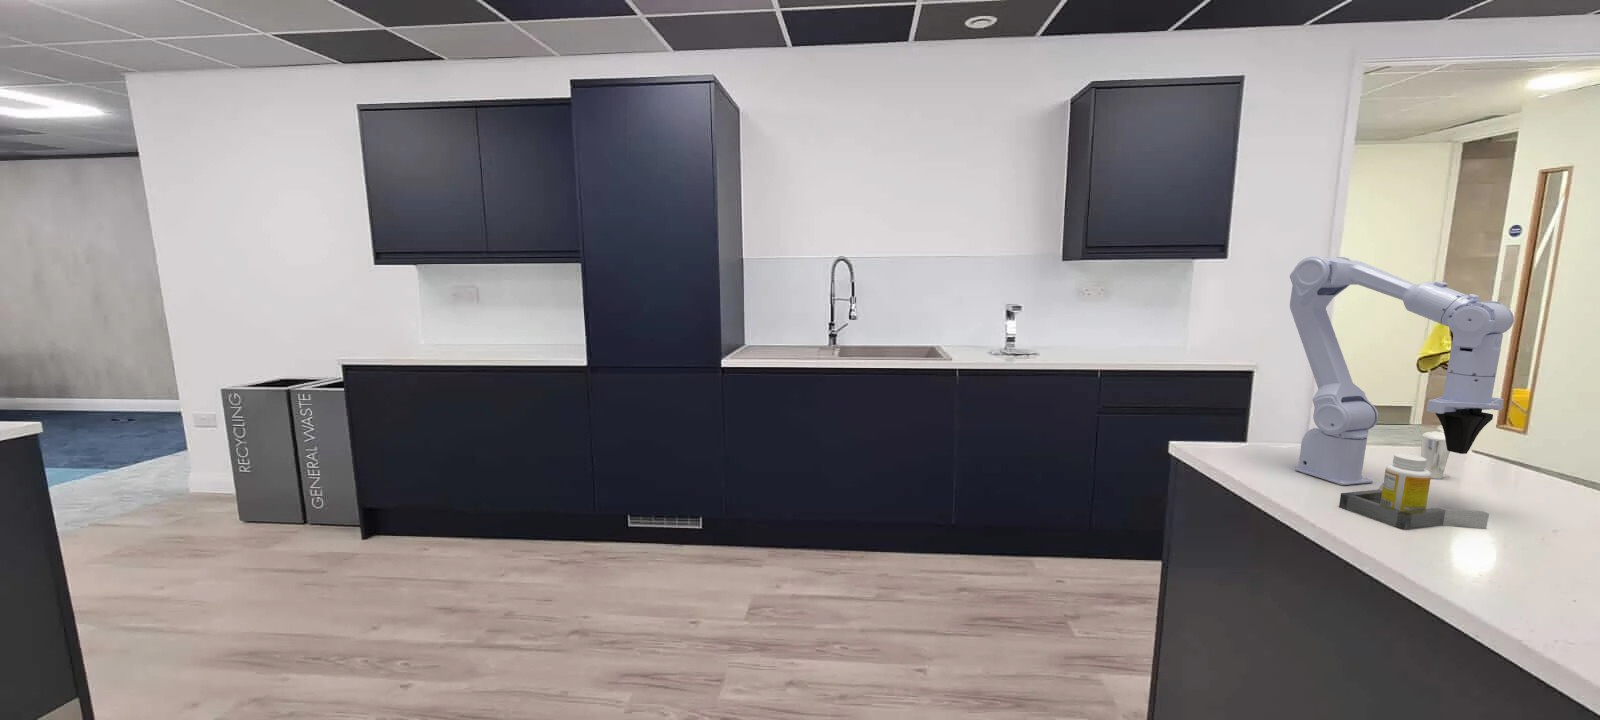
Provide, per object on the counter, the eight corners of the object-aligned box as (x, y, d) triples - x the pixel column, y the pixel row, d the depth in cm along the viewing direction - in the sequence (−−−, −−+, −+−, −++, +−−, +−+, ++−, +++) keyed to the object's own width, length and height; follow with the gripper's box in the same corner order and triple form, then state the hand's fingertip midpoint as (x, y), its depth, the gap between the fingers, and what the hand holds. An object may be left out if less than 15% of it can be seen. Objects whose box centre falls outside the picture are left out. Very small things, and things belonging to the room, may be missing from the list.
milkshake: (1408, 470, 133) (1415, 423, 131) (1444, 475, 129) (1452, 427, 128) (1412, 476, 129) (1419, 427, 127) (1449, 481, 126) (1457, 432, 124)
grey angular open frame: (1323, 501, 114) (1325, 488, 114) (1383, 495, 118) (1385, 482, 117) (1423, 536, 100) (1426, 521, 99) (1488, 528, 103) (1491, 513, 103)
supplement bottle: (1430, 518, 107) (1440, 459, 106) (1415, 524, 105) (1425, 463, 103) (1387, 506, 112) (1397, 450, 111) (1372, 512, 110) (1381, 454, 108)
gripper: (1469, 379, 102) (1454, 461, 104) (1532, 376, 106) (1517, 456, 108) (1417, 372, 109) (1405, 449, 111) (1479, 369, 112) (1465, 444, 114)
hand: (1457, 452), depth 110 cm, fingers closed
